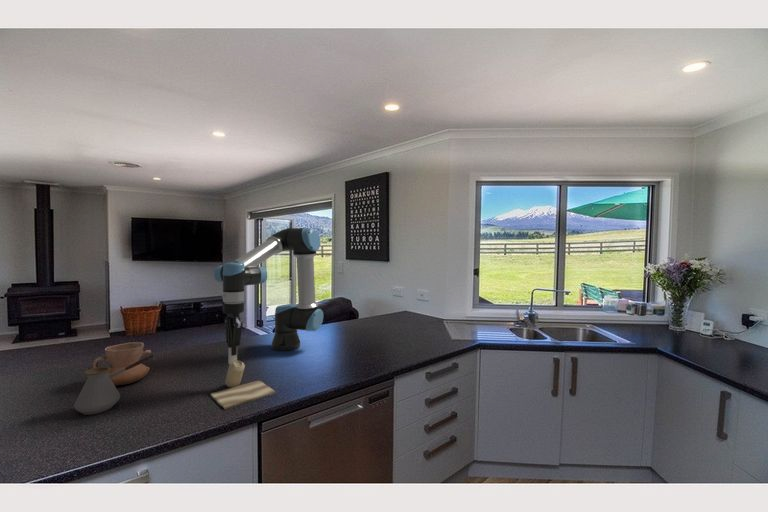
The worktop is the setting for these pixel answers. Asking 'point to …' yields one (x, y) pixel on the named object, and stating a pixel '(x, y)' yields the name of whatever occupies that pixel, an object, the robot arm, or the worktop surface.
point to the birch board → (242, 394)
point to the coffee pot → (100, 390)
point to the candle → (234, 373)
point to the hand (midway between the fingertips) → (232, 362)
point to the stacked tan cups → (125, 362)
